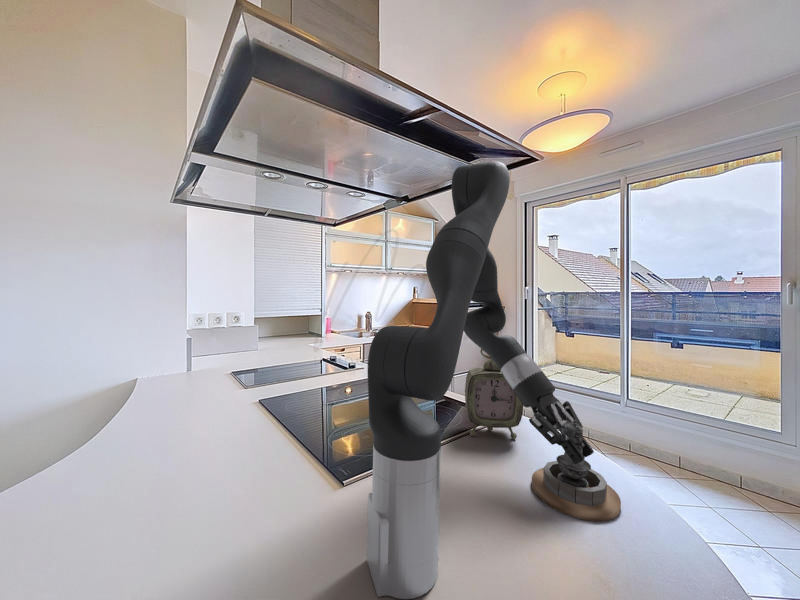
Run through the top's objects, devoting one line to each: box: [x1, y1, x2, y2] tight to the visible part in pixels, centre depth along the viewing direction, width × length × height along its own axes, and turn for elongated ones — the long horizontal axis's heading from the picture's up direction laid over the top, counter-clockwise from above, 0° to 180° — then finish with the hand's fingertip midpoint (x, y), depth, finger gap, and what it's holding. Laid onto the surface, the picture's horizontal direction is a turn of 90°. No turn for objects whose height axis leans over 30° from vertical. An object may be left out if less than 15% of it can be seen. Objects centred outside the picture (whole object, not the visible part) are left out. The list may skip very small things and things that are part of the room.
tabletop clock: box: [464, 348, 524, 440], centre depth 88 cm, size 14×9×25 cm, turn 83°
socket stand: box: [531, 460, 622, 522], centre depth 62 cm, size 15×15×4 cm
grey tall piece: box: [555, 419, 592, 488], centre depth 62 cm, size 6×6×12 cm
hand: (584, 457), depth 60 cm, fingers closed on grey tall piece, 3 cm apart
